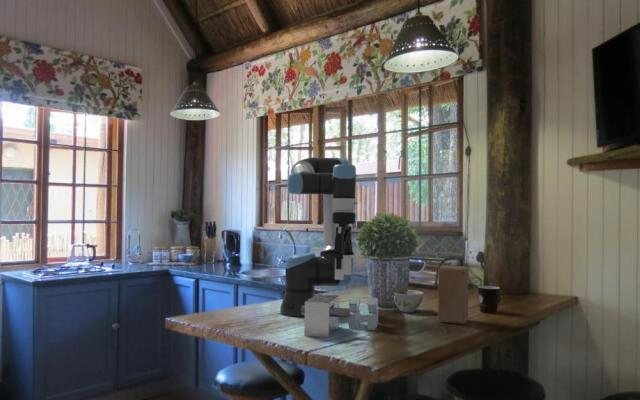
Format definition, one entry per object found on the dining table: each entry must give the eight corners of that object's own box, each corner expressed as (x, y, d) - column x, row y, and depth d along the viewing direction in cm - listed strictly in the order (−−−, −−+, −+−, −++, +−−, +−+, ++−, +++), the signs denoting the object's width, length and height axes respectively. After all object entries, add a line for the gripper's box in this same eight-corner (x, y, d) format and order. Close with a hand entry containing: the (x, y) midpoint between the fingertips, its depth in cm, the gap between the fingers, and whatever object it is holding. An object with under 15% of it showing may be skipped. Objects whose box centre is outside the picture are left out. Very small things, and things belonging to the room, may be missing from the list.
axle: (300, 315, 167) (300, 306, 167) (303, 313, 170) (303, 304, 170) (348, 318, 163) (348, 309, 163) (350, 316, 166) (350, 307, 166)
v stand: (348, 328, 174) (348, 300, 174) (353, 322, 183) (353, 296, 183) (374, 330, 172) (375, 301, 172) (378, 324, 181) (378, 297, 181)
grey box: (304, 335, 163) (304, 301, 163) (316, 325, 179) (316, 294, 179) (328, 337, 161) (329, 303, 161) (338, 326, 177) (339, 295, 177)
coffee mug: (476, 309, 212) (476, 285, 213) (498, 310, 211) (498, 286, 211) (479, 314, 201) (479, 289, 201) (502, 316, 199) (502, 290, 199)
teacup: (409, 315, 198) (409, 294, 198) (385, 310, 208) (385, 290, 208) (433, 310, 208) (433, 291, 208) (409, 306, 217) (409, 287, 218)
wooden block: (466, 324, 182) (466, 268, 183) (437, 322, 186) (438, 267, 186) (468, 319, 192) (468, 266, 192) (441, 317, 195) (441, 265, 196)
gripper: (348, 211, 153) (347, 282, 153) (361, 212, 177) (360, 273, 177) (324, 211, 155) (323, 281, 154) (340, 211, 179) (339, 272, 179)
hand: (343, 277), depth 166 cm, fingers open, 13 cm apart
